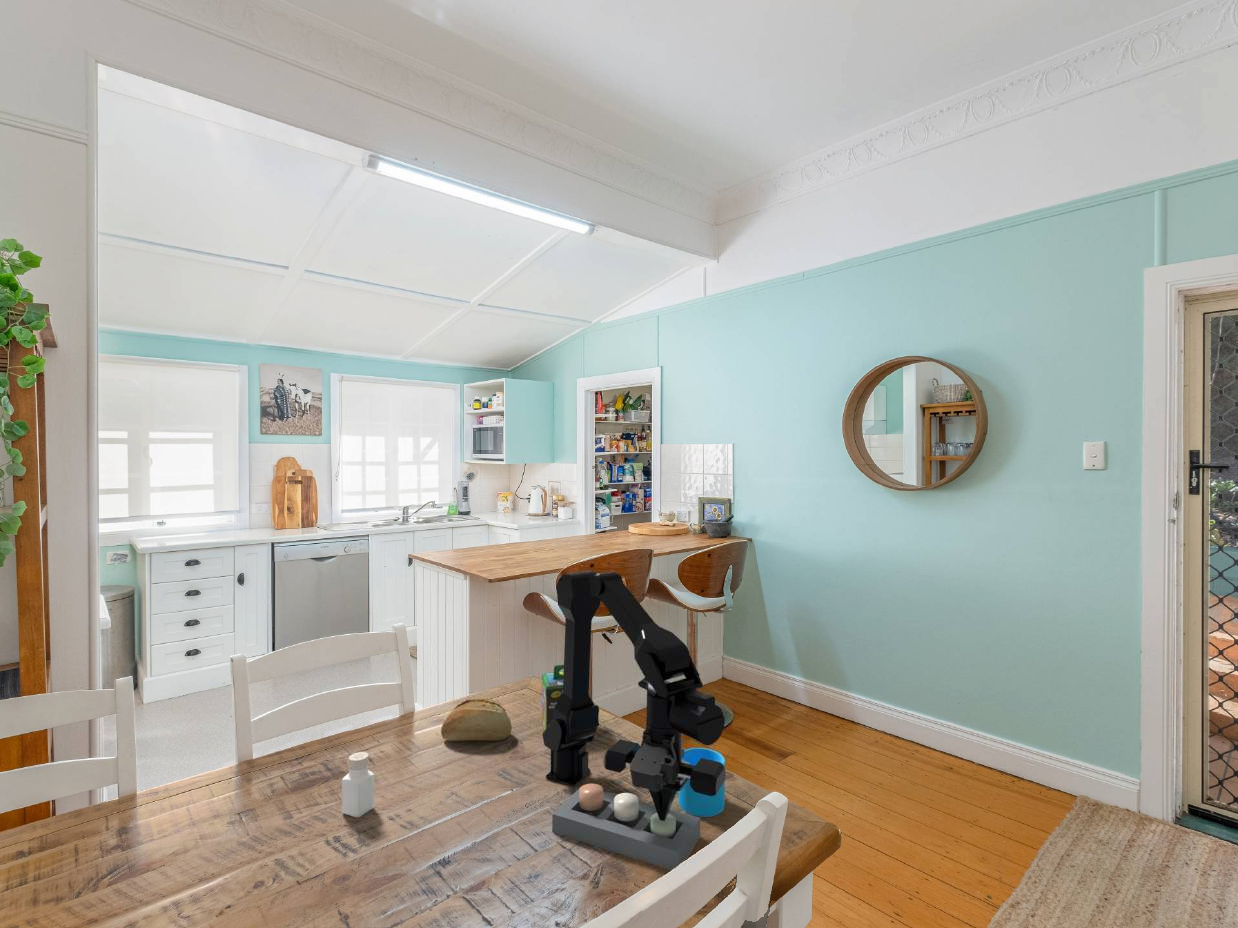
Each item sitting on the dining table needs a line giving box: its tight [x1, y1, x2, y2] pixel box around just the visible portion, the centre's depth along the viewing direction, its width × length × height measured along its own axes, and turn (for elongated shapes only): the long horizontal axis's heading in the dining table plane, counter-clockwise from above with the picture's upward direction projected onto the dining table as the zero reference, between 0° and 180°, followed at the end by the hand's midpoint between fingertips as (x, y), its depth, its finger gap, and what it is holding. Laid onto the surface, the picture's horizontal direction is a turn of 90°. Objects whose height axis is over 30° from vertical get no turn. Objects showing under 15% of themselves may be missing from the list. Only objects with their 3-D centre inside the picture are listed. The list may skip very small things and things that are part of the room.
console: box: [551, 785, 701, 871], centre depth 102 cm, size 22×10×3 cm, turn 64°
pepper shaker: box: [341, 751, 376, 818], centre depth 108 cm, size 4×4×10 cm
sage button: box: [651, 813, 676, 839], centre depth 99 cm, size 4×4×2 cm
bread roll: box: [440, 698, 513, 742], centre depth 137 cm, size 10×15×8 cm, turn 100°
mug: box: [677, 747, 726, 818], centre depth 114 cm, size 12×8×8 cm
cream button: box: [614, 792, 640, 821], centre depth 102 cm, size 4×4×2 cm
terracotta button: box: [578, 783, 604, 811], centre depth 105 cm, size 4×4×2 cm
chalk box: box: [541, 664, 564, 732], centre depth 142 cm, size 9×9×15 cm
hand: (662, 819), depth 99 cm, fingers closed, pressing on sage button
